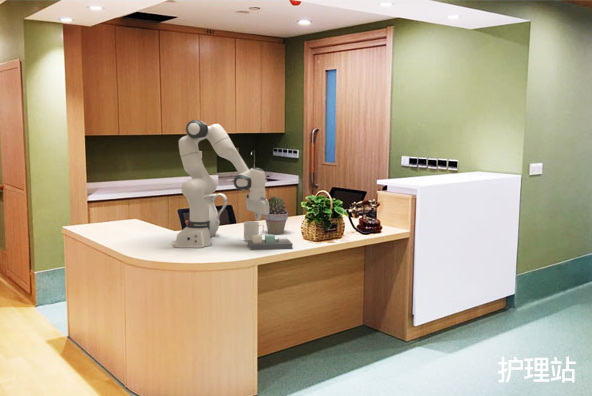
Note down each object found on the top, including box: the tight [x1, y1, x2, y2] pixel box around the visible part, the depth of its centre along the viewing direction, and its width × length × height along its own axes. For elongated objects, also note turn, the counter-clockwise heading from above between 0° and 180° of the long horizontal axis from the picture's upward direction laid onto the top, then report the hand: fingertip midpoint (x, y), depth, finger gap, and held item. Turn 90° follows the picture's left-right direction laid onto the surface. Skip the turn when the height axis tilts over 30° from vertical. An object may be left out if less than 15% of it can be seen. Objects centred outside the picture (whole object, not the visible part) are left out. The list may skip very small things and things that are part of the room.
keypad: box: [247, 238, 293, 251], centre depth 344 cm, size 24×13×3 cm, turn 103°
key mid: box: [264, 234, 276, 243], centre depth 343 cm, size 5×5×4 cm
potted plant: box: [263, 195, 289, 235], centre depth 384 cm, size 18×20×25 cm
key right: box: [277, 236, 289, 243], centre depth 345 cm, size 5×5×4 cm
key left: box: [252, 234, 263, 243], centre depth 341 cm, size 5×5×4 cm
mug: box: [243, 220, 265, 242], centre depth 359 cm, size 12×9×11 cm
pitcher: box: [204, 192, 228, 238], centre depth 368 cm, size 24×17×28 cm
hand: (257, 220), depth 340 cm, fingers closed
